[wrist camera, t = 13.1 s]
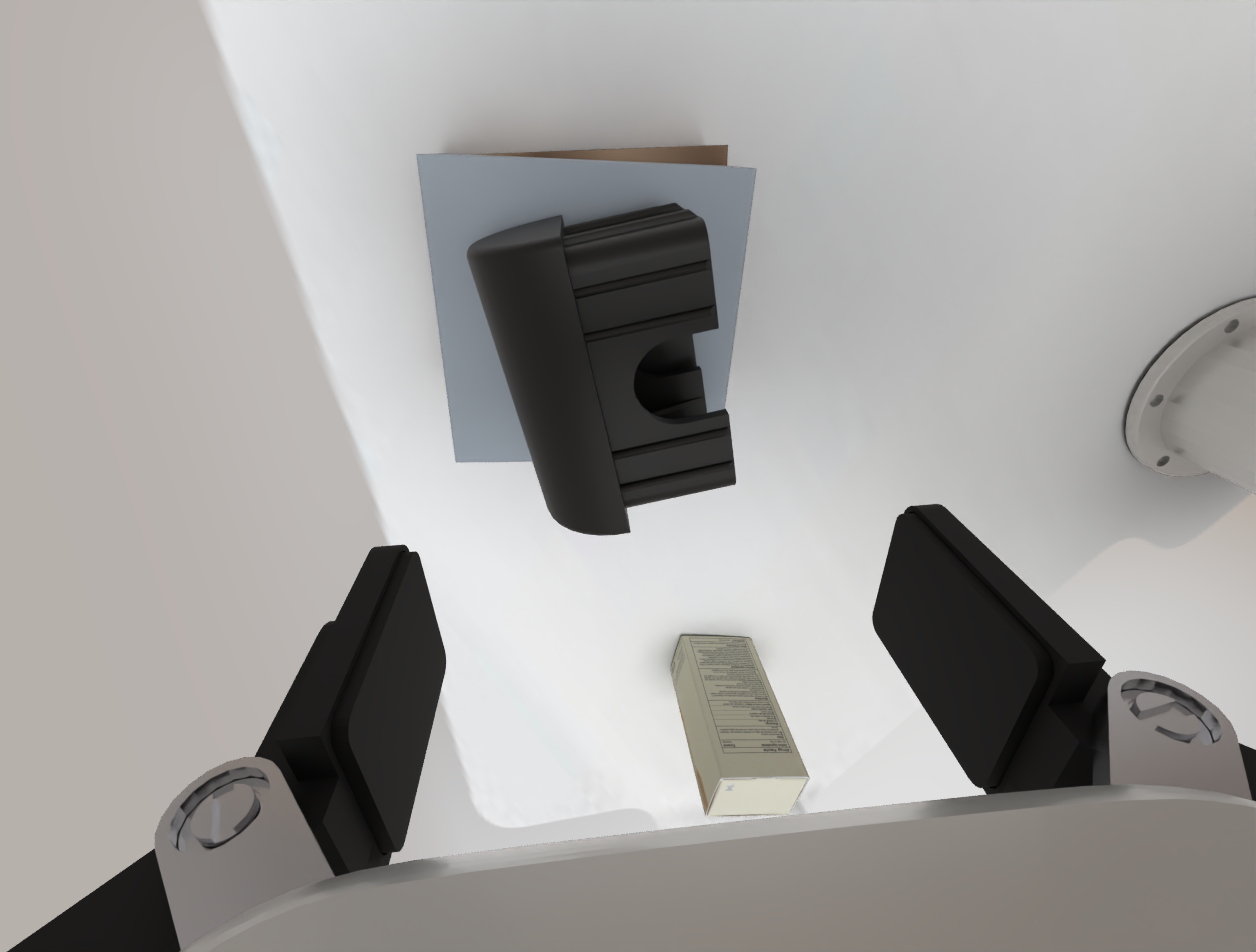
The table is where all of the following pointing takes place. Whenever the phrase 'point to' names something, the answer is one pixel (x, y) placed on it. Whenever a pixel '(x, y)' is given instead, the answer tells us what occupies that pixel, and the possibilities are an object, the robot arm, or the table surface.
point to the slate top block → (579, 191)
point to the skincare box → (735, 729)
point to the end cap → (608, 358)
